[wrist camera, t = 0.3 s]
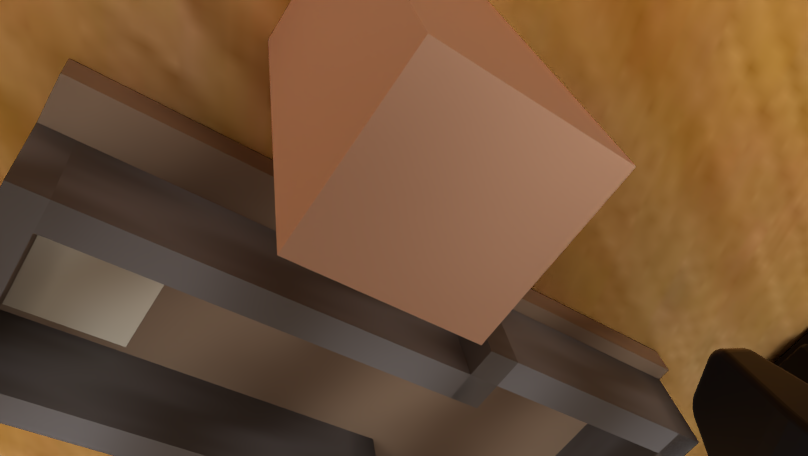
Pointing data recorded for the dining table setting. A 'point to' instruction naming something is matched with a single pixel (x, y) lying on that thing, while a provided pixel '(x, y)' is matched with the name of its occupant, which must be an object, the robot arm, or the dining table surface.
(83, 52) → the dining table surface
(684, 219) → the dining table surface
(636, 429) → the keyhole board
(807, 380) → the robot arm
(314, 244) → the peg
